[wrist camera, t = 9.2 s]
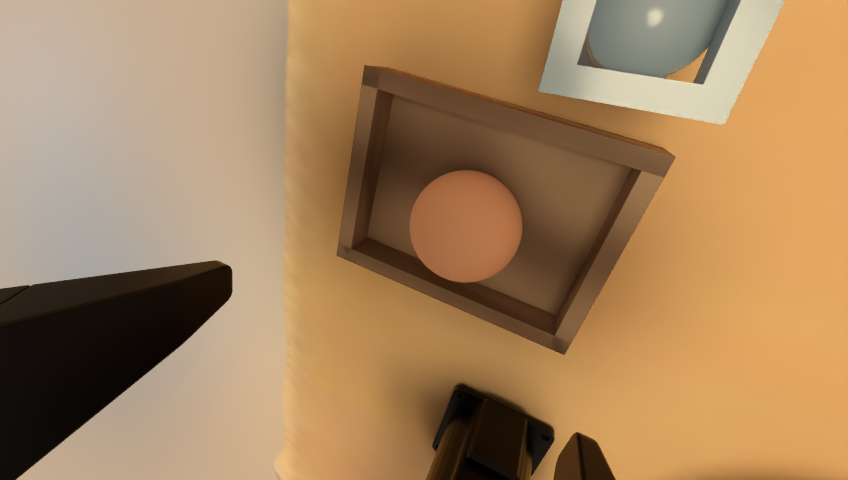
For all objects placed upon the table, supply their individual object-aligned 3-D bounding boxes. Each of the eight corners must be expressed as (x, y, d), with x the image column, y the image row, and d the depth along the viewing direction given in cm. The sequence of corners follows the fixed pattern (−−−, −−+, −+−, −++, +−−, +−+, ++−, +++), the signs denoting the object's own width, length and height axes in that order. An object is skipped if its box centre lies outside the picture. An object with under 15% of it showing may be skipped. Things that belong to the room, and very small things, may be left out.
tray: (565, 329, 20) (564, 354, 18) (356, 241, 23) (336, 255, 21) (663, 148, 15) (675, 156, 13) (386, 67, 18) (364, 65, 16)
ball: (487, 311, 18) (498, 287, 13) (397, 265, 19) (378, 227, 14) (529, 225, 19) (553, 176, 14) (443, 187, 20) (440, 130, 16)
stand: (668, 109, 15) (724, 124, 9) (552, 89, 16) (538, 91, 10) (727, -29, 13) (843, -118, 7) (588, -41, 14) (596, -125, 8)
